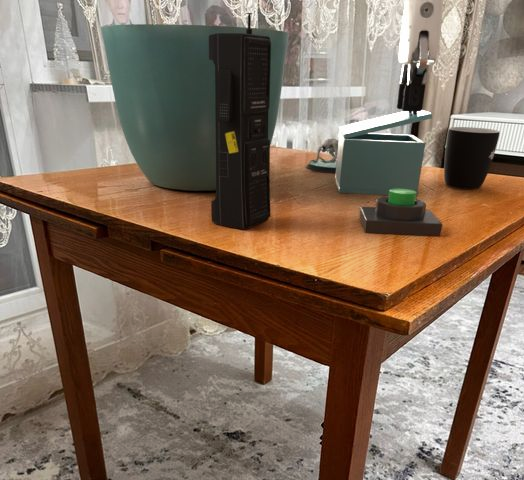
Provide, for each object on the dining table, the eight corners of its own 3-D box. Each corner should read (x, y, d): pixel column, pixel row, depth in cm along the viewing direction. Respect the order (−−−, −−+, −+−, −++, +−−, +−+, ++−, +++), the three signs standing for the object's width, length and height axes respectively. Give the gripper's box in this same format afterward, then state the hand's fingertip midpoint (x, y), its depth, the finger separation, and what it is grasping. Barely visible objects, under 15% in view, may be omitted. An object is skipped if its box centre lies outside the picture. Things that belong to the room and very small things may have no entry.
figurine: (292, 166, 117) (293, 136, 114) (332, 162, 124) (335, 133, 121) (327, 175, 109) (329, 142, 107) (368, 170, 116) (372, 139, 113)
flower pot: (78, 185, 93) (58, 22, 82) (179, 163, 117) (174, 33, 105) (229, 210, 81) (229, 23, 70) (306, 179, 105) (316, 36, 94)
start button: (411, 201, 76) (413, 189, 75) (416, 207, 73) (419, 194, 72) (386, 200, 76) (387, 187, 75) (389, 206, 73) (391, 193, 72)
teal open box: (405, 183, 104) (412, 134, 100) (416, 196, 94) (425, 142, 90) (334, 180, 105) (339, 131, 101) (338, 192, 95) (343, 139, 91)
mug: (489, 192, 99) (503, 133, 94) (439, 188, 101) (449, 130, 96) (483, 181, 109) (494, 127, 105) (437, 177, 111) (446, 124, 106)
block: (427, 221, 79) (431, 196, 78) (440, 236, 72) (445, 210, 70) (359, 218, 80) (361, 193, 78) (365, 232, 72) (368, 206, 71)
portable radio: (244, 233, 70) (247, 7, 59) (206, 225, 73) (202, 7, 61) (272, 220, 77) (280, 13, 65) (236, 214, 79) (238, 13, 67)
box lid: (418, 112, 99) (415, 83, 96) (432, 118, 88) (429, 85, 86) (339, 131, 101) (335, 102, 99) (344, 139, 91) (339, 107, 88)
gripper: (463, -25, 77) (442, 114, 85) (436, -9, 92) (421, 107, 101) (410, -25, 77) (394, 113, 86) (392, -10, 93) (380, 106, 101)
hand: (408, 108), depth 93 cm, fingers closed on box lid, 5 cm apart
